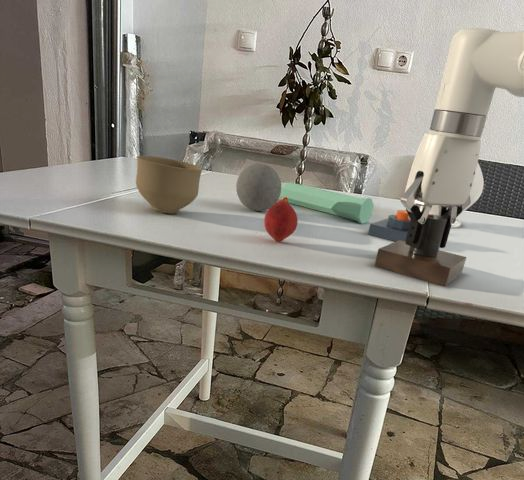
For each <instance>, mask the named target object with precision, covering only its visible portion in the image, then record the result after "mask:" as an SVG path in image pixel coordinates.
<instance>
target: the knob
mask: <svg viewBox="0 0 524 480" xmlns="http://www.w3.org/2000/svg"><path fill="white" fill-rule="evenodd" d="M446 222H447V218H445V217H442V216H439V215H434V214H428V217H427V219H426V221H425V223H424V224H427V229H426V232H425V236H424V240H423V244H422V247H421V248H420V249H416V248H414V247H411V246H410V249H409V251H410V252H412V253H414V254H417V255H421V256H427V257H435V256H437V254H438V251H439V250H440V244H441V240H442V237H443V233H444V229H445V226H446Z"/></svg>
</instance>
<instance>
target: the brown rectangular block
mask: <svg viewBox="0 0 524 480" xmlns="http://www.w3.org/2000/svg"><path fill="white" fill-rule="evenodd" d="M409 249H410V246H409V245H407V244H406V243H405V241H401V240H399V241H393V242H391V243H389V244H388V245H385V246H382V247H380V248H378V249H377V254H376V257H375V261H374V267H376V268H378V269H381V270H382V269H383V270H385V271H388V272H389V271H390V272H394V273H396V274H400V275H404V276H407V277H411V278H413V279H416V280H417V279H418V280H422V281H425V282H428V283H431V284H435V285H439V286H443V287H447V286H448V285H449V284H450V283H452V282H453V281H455V279H457V278H458V277H460V276H461V275H462V273H463V271H464V267H465V264H466V261H467V256H464V255H460V254H457V253H452V252H447V251H444V250H441V249H439V251H438V254H437V256H435V257H427V256H421V255H417V254H414V253H412V252H410V251H409Z"/></svg>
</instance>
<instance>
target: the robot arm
mask: <svg viewBox="0 0 524 480" xmlns="http://www.w3.org/2000/svg"><path fill="white" fill-rule="evenodd" d="M496 89H502V90H506V91H507V92H508V93H509V94H510V95H512V96H514V97H517V98H524V30H520V31H519V30H518V31H500V30H497V29H491V28H482V27H468V28H462V29H459V30H458V31H457V32H456V33H454V36H453V37H452V39H451V41H450V46H449V49H448V53H447V57H446V61H445V66H444V69H443V74H442V77H441V81H440V87H439V89H438V94H437V99H436V101H435V106H434V110H433V115H432V119H431V122H430V127H429V131H428V132H425V133H424V135H423V137H422V138H421V140H420V143H419V145H418V148H417V150H416V153H415V155H414V159H413V162H412V165H411V168H410V171H409V175H408V179H407V182H406V186H405V190H404V193H403V194H402V195H401V197H400V203H401V204H402V206H403V207H404V208H405V210H406V211H407V213H408V219H409V220H411V221H410V225H409V229H408V233H407V237H406V241H405V243H406V244H407V245H409V246H411V247H414V248H416V249H420V248H421V247H422V244H423V240H424V236H425V232H426V229H427V224H424V223H425V221H426V219H427V217H428V214H429V212H430V210H431V208H432V206H433V205H439V216H442V217H445V218H447V222H446V226H445V229H444V233H443V237H442V240H441V244H440V247H439V249H445V248H446V247H447V243H448V239H449V235H450V232H451V228H452V227H451V225H452V224H454V223H455V221H456V220H457V217H459V216H460V215H461V214H462V213H461V212H462V210H464V209H465V208H466V207H467V206H469V205H470V203H471V199H470V191H471V188H472V184H473V181H474V177H475V173H476V168H477V163H479V158H480V151H481V143H482V141H481V138H482V136H483V132H484V128H485V126H486V125H485V124H486V122H487V118H488V117H487V116H488V114H489V111H490V107H491V105H492V101H493V97H494V93H495V90H496ZM414 200H415V202H414ZM421 206H424V207H423V209H422V211H420V207H421ZM447 208H448V209H447ZM460 213H461V214H460ZM459 214H460V215H459ZM458 215H459V216H458Z"/></svg>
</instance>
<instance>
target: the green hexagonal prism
mask: <svg viewBox="0 0 524 480" xmlns="http://www.w3.org/2000/svg"><path fill="white" fill-rule="evenodd" d="M282 197H287V198H288V204H290V205H291V204H292V205H295V206H299V207H303V208H308V209H312V210H315V211H319V212H322V213H327V214H330V215H334V216H338V217H342V218H346V219H349V220H350V219H351V220H354V221H357V222H358V223H357V224H367V223H368V222H369V220H370V219H371V217H372V216H373V211H374V202H373V199H372V198H371V197H363V198H362V197H358V196H354V195H348V194H344V193H339V192H335V191H332V190H331V191H330V190H326V189H322V188H319V187H318V188H317V187H313V186H309V185H304V184H299V183H297V182H289V181H288V182H284V183H281V194H280V197H279V198H280V199H281V198H282Z"/></svg>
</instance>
